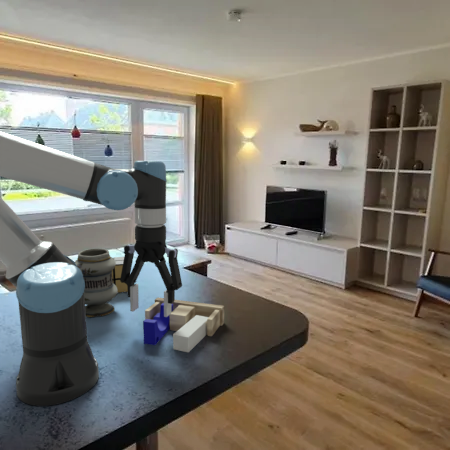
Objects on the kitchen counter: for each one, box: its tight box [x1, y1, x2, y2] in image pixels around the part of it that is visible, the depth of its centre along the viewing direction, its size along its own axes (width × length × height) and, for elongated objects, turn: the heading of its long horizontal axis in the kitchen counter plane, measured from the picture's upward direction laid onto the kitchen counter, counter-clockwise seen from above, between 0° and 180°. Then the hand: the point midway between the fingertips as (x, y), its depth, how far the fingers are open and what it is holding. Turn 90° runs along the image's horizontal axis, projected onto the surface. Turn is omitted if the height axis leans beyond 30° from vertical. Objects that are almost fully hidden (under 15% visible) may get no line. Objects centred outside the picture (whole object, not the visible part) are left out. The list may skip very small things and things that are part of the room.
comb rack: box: [144, 297, 225, 337], centre depth 102 cm, size 8×20×5 cm, turn 72°
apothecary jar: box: [74, 248, 118, 318], centre depth 110 cm, size 12×12×18 cm
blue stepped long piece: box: [142, 303, 173, 346], centre depth 97 cm, size 12×4×6 cm, turn 166°
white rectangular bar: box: [172, 315, 209, 353], centre depth 94 cm, size 12×4×4 cm, turn 157°
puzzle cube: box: [112, 256, 128, 294], centre depth 129 cm, size 10×10×10 cm
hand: (150, 312), depth 96 cm, fingers open, 9 cm apart
